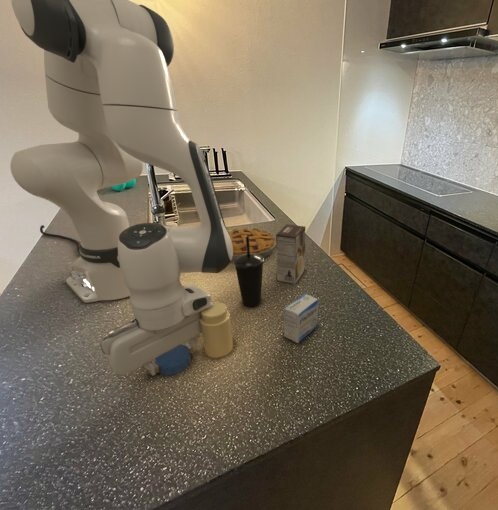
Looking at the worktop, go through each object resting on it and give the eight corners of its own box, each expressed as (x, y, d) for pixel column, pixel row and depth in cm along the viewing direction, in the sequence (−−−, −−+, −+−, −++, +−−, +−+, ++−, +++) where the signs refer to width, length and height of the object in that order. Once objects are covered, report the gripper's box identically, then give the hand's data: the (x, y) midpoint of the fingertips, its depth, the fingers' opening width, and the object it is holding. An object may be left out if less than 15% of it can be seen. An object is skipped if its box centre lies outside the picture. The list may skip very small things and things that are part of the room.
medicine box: (298, 344, 72) (298, 315, 68) (283, 336, 74) (283, 307, 70) (317, 326, 78) (319, 299, 74) (303, 319, 80) (304, 292, 76)
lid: (173, 379, 61) (171, 371, 60) (150, 368, 63) (147, 360, 62) (197, 357, 66) (196, 350, 65) (175, 348, 68) (173, 340, 67)
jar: (199, 354, 67) (192, 315, 62) (214, 336, 72) (208, 298, 67) (224, 360, 66) (219, 320, 61) (237, 341, 71) (234, 303, 66)
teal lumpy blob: (107, 190, 160) (101, 171, 155) (122, 185, 168) (117, 167, 164) (124, 192, 159) (119, 173, 154) (138, 188, 167) (134, 169, 163)
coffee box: (286, 267, 104) (286, 223, 96) (304, 270, 103) (306, 226, 95) (276, 280, 96) (275, 234, 88) (296, 284, 95) (296, 237, 87)
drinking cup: (240, 313, 80) (234, 245, 71) (235, 298, 86) (228, 233, 77) (269, 307, 84) (266, 241, 74) (261, 292, 89) (258, 229, 80)
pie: (264, 234, 126) (263, 222, 124) (285, 256, 110) (285, 244, 108) (208, 243, 115) (206, 230, 113) (222, 269, 99) (221, 256, 97)
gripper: (104, 346, 49) (125, 403, 55) (218, 292, 64) (224, 342, 70) (89, 328, 52) (111, 384, 58) (201, 281, 67) (208, 330, 73)
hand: (174, 361), depth 64 cm, fingers closed on lid, 6 cm apart
